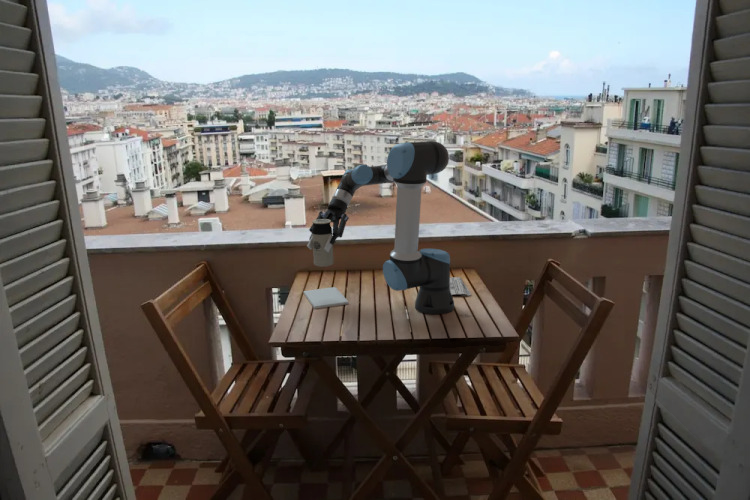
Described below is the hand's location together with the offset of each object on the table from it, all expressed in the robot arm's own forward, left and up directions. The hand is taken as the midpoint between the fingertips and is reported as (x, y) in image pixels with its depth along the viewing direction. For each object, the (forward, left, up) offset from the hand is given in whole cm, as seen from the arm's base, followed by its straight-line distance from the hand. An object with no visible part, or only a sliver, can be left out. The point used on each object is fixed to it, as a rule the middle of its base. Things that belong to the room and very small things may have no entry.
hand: (317, 249), depth 221 cm
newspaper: (-7, -58, -23) cm, 62 cm away
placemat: (+2, -3, -22) cm, 22 cm away
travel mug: (+2, -3, -7) cm, 8 cm away
